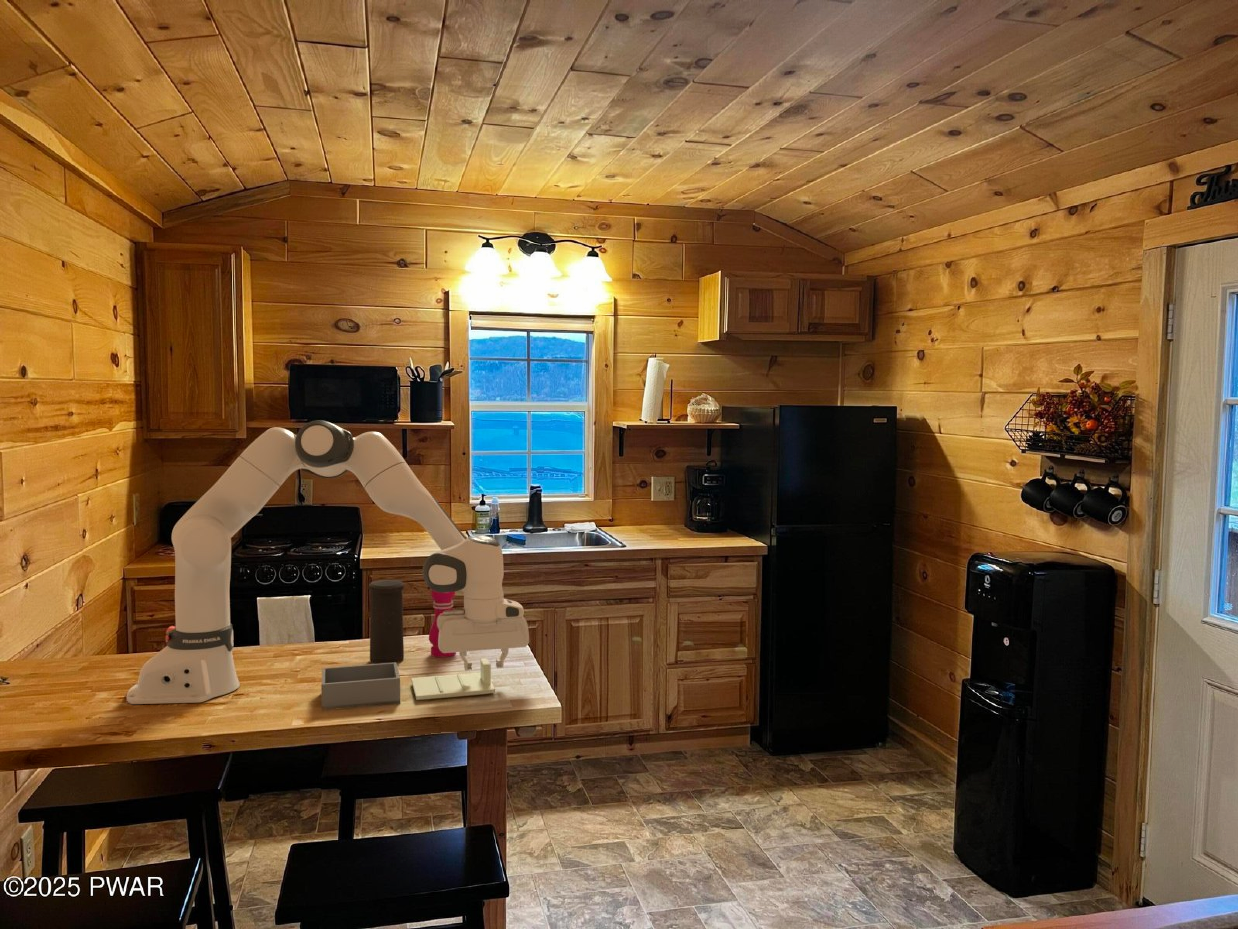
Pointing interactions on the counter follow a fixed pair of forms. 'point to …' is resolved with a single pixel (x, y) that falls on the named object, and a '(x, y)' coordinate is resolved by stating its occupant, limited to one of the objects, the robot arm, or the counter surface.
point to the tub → (360, 686)
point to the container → (386, 621)
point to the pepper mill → (440, 604)
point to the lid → (455, 684)
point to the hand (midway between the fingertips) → (483, 668)
